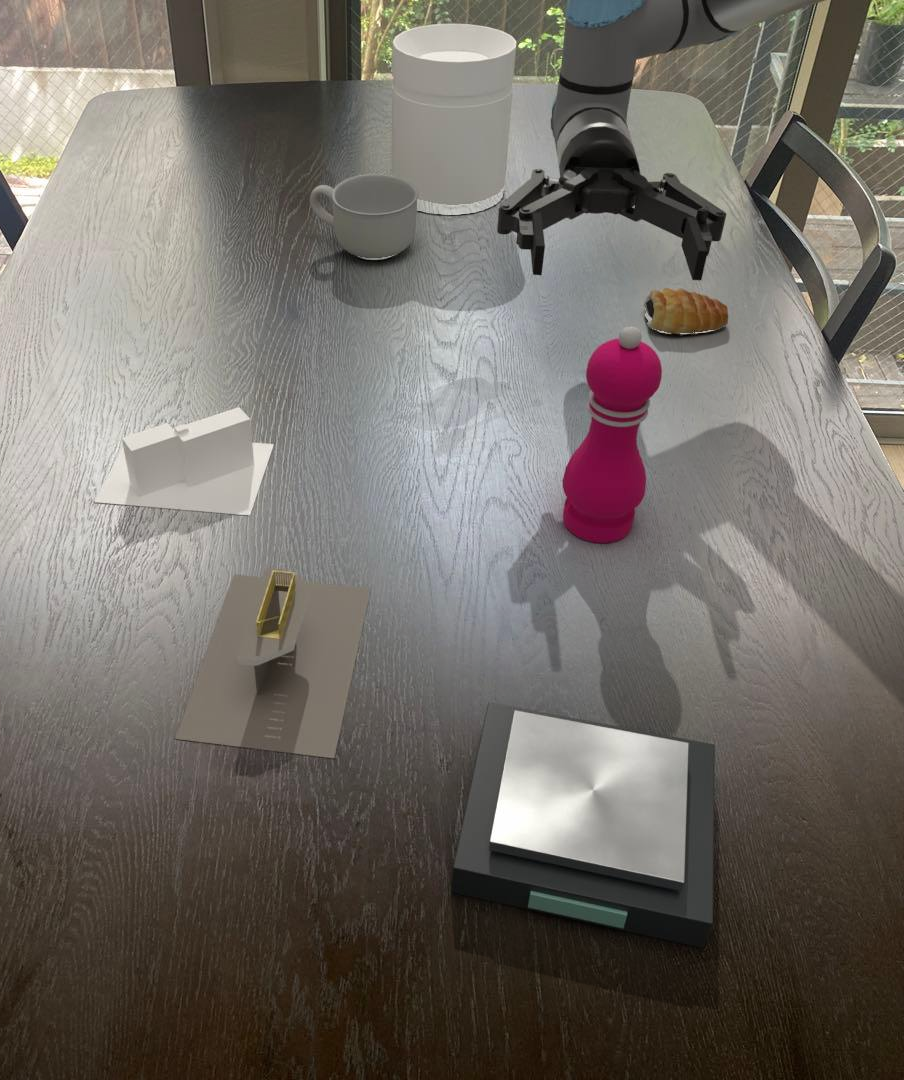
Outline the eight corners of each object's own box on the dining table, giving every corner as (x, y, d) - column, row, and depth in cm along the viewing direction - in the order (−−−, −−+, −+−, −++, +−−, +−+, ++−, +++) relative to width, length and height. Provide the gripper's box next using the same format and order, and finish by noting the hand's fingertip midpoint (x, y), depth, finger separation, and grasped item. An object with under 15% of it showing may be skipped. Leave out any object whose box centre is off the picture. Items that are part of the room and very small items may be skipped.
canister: (490, 222, 145) (502, 67, 132) (376, 207, 149) (377, 55, 136) (515, 176, 156) (528, 29, 143) (409, 163, 160) (412, 19, 147)
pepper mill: (638, 551, 95) (681, 355, 82) (556, 543, 96) (585, 348, 83) (636, 500, 101) (676, 308, 87) (558, 493, 101) (585, 302, 88)
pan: (686, 751, 75) (689, 742, 74) (681, 891, 67) (684, 882, 66) (513, 719, 77) (514, 710, 76) (488, 850, 69) (489, 841, 68)
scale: (706, 770, 77) (715, 744, 76) (703, 952, 67) (713, 927, 65) (485, 728, 80) (488, 701, 79) (449, 896, 70) (452, 870, 68)
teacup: (431, 243, 140) (433, 184, 135) (390, 278, 133) (390, 216, 128) (340, 220, 146) (338, 162, 141) (295, 252, 139) (292, 192, 134)
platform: (371, 588, 92) (371, 530, 88) (334, 758, 78) (332, 699, 74) (234, 574, 93) (227, 516, 89) (175, 738, 80) (163, 679, 76)
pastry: (718, 309, 127) (725, 279, 125) (732, 339, 122) (740, 309, 120) (638, 309, 127) (644, 280, 125) (649, 339, 122) (655, 309, 120)
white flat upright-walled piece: (274, 442, 108) (270, 394, 104) (251, 515, 99) (246, 466, 95) (128, 432, 109) (119, 384, 105) (93, 503, 101) (82, 454, 97)
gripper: (715, 202, 110) (757, 307, 94) (469, 195, 111) (469, 297, 95) (732, 128, 105) (779, 226, 89) (474, 122, 106) (475, 217, 90)
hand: (619, 263), depth 92 cm, fingers open, 13 cm apart
